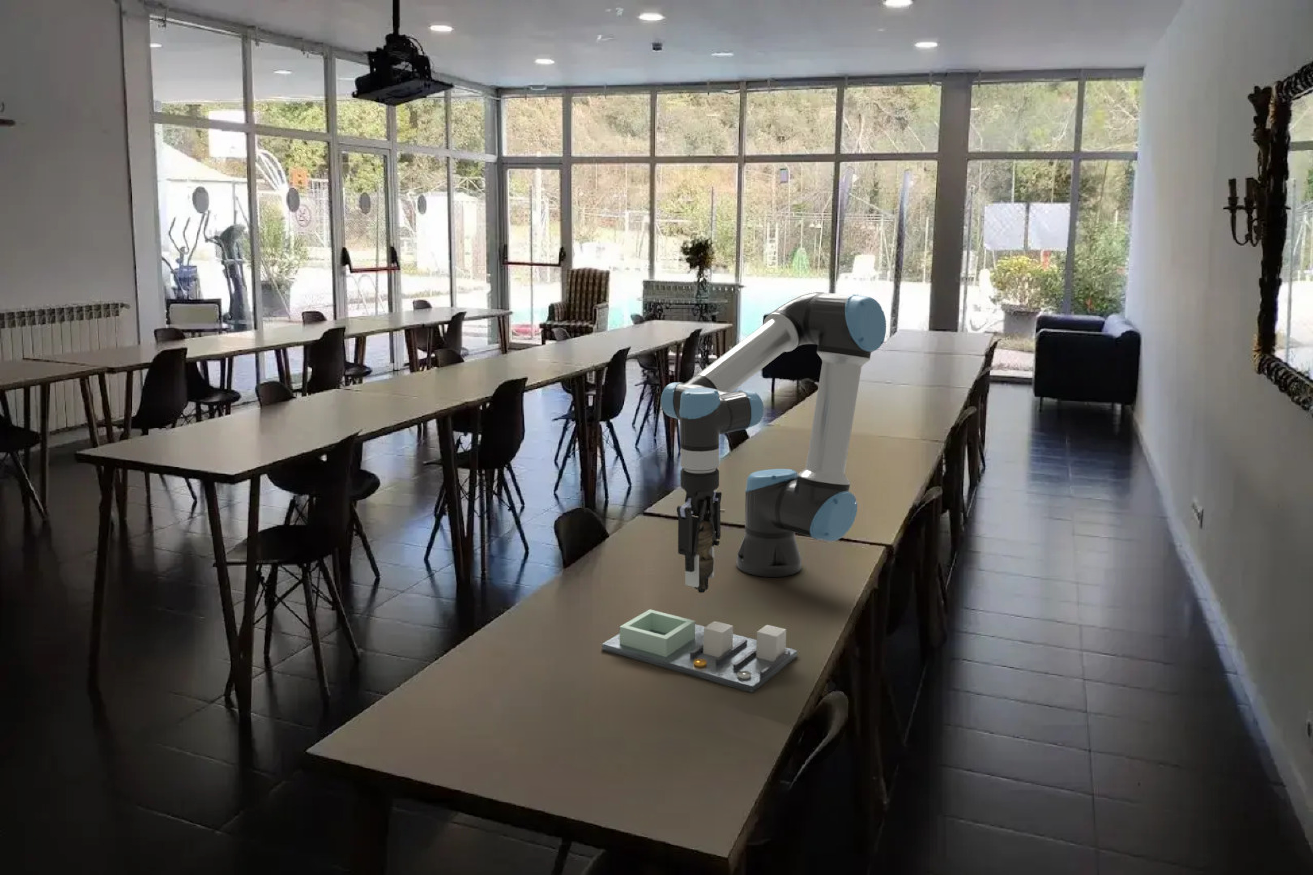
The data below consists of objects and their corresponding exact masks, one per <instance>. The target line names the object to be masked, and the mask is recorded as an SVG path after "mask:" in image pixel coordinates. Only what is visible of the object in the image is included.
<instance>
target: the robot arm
mask: <svg viewBox="0 0 1313 875" xmlns="http://www.w3.org/2000/svg"><path fill="white" fill-rule="evenodd" d="M886 334H887V320H886V316H885V312H884V310H883V308H882V306H881V304H880V303H879V302H878V301H877V300H876V299H875V298H874V297H871V296H865V295H861V294H849V293H847V294H846V293H832V292H824V291H823V292H820V291H816V292H814V291H813V292H811V293H810V292H808V293H806V294H802V295H800V296H798V297H796V298H794V299H791V300H789V301H788V302H786V303H784V304H782V305H781V306H779V307H778V308H776V309H774V310H773V311H772V312H770V313H769V314H768V315H767V316H766V317H765V318H764V320H763V324H762V325H761V326H760V327H758V328H757V329H755V330H754V331H752V333H750V334H749V335H748V336H746V337H745V338H743V339H742V340H741V341H739V342H738V343H737V344H736V345H734V346H733V347H732V348H731V349H729V350H728V351H726V352H725V353H723V354H722V355H721V356H719V357H717V359H715V360H714V361H713V362H712V363H710V364H709V365H708V366H707V367H705V368H703V369H702V370H701V371H700V372H699V373H697V374H696V375H695V376H693V377H692V378H690V379H689V380H688V381H686V382H681V381H678V382H670V383H669V384H667V385H666V386H665V387H664V388H663V390H662V393H661V396H660V405H661V409H662V411H663V412H664V414H665V415H666V416H668V417H670V418H673V419H676V420H679V431H680V433H679V434H680V436H679V437H680V440H679V441H680V443H679V444H680V450H679V453H680V467H681V469H680V472H679V473H680V474H679V475H680V480H679V481H680V488H682V489H683V490H684V491H685V493H686V494H685V497H684V504H683V505H677V506H676V512H677V519H678V520H677V521H678V522H677V524H678V525H677V526H678V527H677V529H678V530H677V554H678V555H682V556H684V570H685V572H684V573H685V574H684V575H685V576H684V577H685V579H684V582H685V584H684V585H685V586H690V587H693V588H694V587H699V555H696V554H697V546H698V539H699V537H698V535H699V531H700V524H701V522H702V521H703V520H705V521H708V522H710V523H711V524H712V525H713V537H712V540H713V543H712V545H711V548H710V549H709V555H711V556H712V557H713V558H714V559H715V546H717V547H719V545H720V541H719V540H720V539H721V536H722V535H721V533H722V532H721V528H722V526H721V524H722V523H721V501H722V495H723V493H722V492H721V491H716V490H717V489H718V488H719V486H720V470H719V467H720V435H723V434H727V433H732V432H736V431H741V430H748V429H749V428H752V427H754V426H757V425H758V424H759V423H760V422H761V421H762V419H763V417H764V412H765V410H764V402H763V400H762V398H761V396H760V395H759V394H758V393H757V392H755V391H753V390H751V389H749V390H742V389H740V390H738V391H735V390H737V389H738V388H740V387H741V386H742V385H744V383H746V382H747V381H748V380H749V379H751V378H752V377H753V376H755V375H756V374H758V372H760V371H762V369H763V368H765V367H766V366H767V365H769V363H771V362H772V361H774V360H775V359H776V358H777V357H779V356H781V354H783V353H785V352H786V353H788V352H792V351H793V350H795V349H796V348H798V347H799V346H802V345H817V349H816V354H817V355H818V356H819V357H820V359H821V362H822V363H821V369H820V373H819V374H820V375H819V381H818V386H817V388H818V389H817V393H816V400H815V405H814V413H813V419H812V424H811V432H810V439H809V447H808V452H807V458H806V463H805V464H806V465H805V468H804V469H802V470H801V471H800V472H797V471H796V470H794V469H791V468H771V469H763V470H756V471H754V472H751V473H750V474H749V475H748V476H747V478H746V485H745V486H746V487H745V491H744V492H745V503H744V505H745V509H744V510H745V511H744V512H745V516H744V535H743V538H742V541H741V544H740V546H739V549H738V551H737V555H736V568H737V569H739V570H740V571H741V572H743V573H746V574H749V575H752V576H757V577H767V578H768V577H769V578H774V577H775V578H779V577H781V578H782V577H788V576H791V575H794V574H797V573H799V572H800V571H801V569H802V557H801V554H800V549H799V546H798V543H797V542H798V541H797V538H796V534H800V535H804V536H807V537H809V538H813V539H814V540H817V541H818V540H819V541H821V540H822V541H825V542H835V541H838V540H840V539H841V538H843V537H845V536H846V534H847V533H848V532H849V531H850V529H851V528H852V527H853V525H854V522H855V520H856V517H857V513H858V502H857V498H856V496H855V495H854V494H853V493H852V492H850V486H851V481H850V480H849V478H848V477H847V476H846V473H845V472H846V468H847V467H846V466H847V460H848V454H849V448H850V440H851V435H852V429H853V423H854V417H855V416H854V415H855V410H856V405H857V404H856V403H857V398H858V391H859V386H860V379H861V373H862V367H863V366H864V365H866V364H867V363H868V362H869V361H870V360H871V354H872V352H875V351H877V350H878V349H879V348H880V347H881V346H882V344H883V342H884V341H885V338H886ZM709 578H710V579H713V578H715V568H714V569H713V572H712V574H711V575H710V577H709Z"/></svg>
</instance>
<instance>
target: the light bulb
mask: <svg viewBox="0 0 1313 875" xmlns="http://www.w3.org/2000/svg"><path fill="white" fill-rule="evenodd" d="M698 537H699V539H698V546H697V554H696V555H699V587H693V588H694V590H697V592H698V593H700V594H702V593H705V592H706V591H707V590H708V589H709V578H710V575H711V574H712V572H713V569H714V570H715V557H714V558H713V557H712V556H711V555H709V549H710V548H711V545H712V543H713V540H712V537H713V525H712V524H711V523H710V522H708V521H705V520H703V521H702V522H701V524H700V531H699V535H698Z"/></svg>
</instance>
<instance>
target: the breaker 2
mask: <svg viewBox="0 0 1313 875" xmlns="http://www.w3.org/2000/svg"><path fill="white" fill-rule="evenodd" d="M756 640H757V647H756V657H757V658H761V659H765V660H769V661H775V660H776V659H777V658H778V657H780V656H781V655H782V654H783V653H785V652H786V648H787V646H786V645H787V628H783V627H779V626H778V627H777V626H773V625H770V624H766V625H764V626H763V627H762V628H760V629H759V630H757V631H756Z"/></svg>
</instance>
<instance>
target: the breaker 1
mask: <svg viewBox="0 0 1313 875" xmlns="http://www.w3.org/2000/svg"><path fill="white" fill-rule="evenodd" d="M733 634H734V625H733V624H728V623H724V622H721V621H715V620H714V621H712V622H711V623H709V624H708V625H706V626H704V638H703V653H704V654H708V655H712V656H715V657H720V656H721V655H723V654H724V653H726V652H727V651H728V650H730V649H731V648H733Z"/></svg>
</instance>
